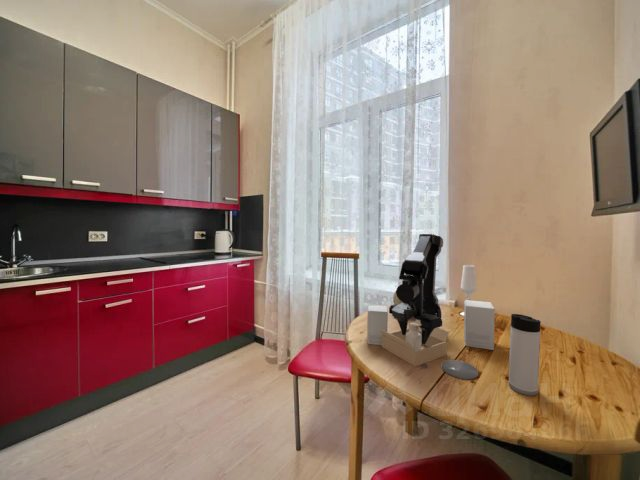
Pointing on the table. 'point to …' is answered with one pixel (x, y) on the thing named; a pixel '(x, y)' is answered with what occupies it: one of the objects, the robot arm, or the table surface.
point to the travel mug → (524, 354)
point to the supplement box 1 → (376, 324)
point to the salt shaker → (414, 336)
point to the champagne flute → (468, 281)
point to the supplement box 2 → (479, 324)
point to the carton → (404, 350)
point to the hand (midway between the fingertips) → (413, 339)
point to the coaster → (459, 369)
